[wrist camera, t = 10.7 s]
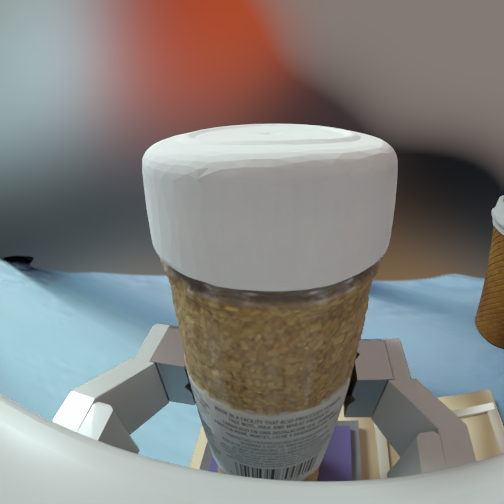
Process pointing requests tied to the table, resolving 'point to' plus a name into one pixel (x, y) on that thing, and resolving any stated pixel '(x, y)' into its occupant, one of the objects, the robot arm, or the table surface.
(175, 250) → the sprinkles bottle
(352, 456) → the stamp station
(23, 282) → the table surface
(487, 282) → the disposable coffee cup
